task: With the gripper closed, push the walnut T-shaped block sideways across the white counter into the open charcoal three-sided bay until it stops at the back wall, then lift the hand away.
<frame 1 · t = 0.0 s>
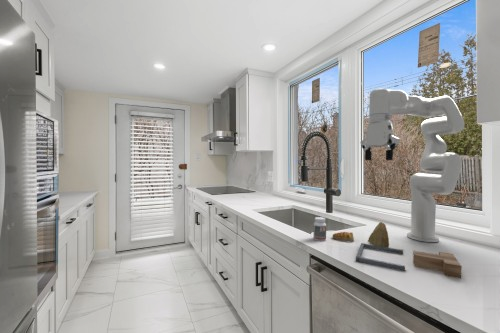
hand: (378, 160, 102), 37 cm above the counter, tool pointing down, fingers open, 9 cm apart
rock: (378, 246, 106), on the counter
pastry: (344, 240, 114), on the counter
t block: (434, 267, 84), on the counter
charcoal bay: (382, 257, 92), on the counter
pill bottle: (319, 239, 114), on the counter
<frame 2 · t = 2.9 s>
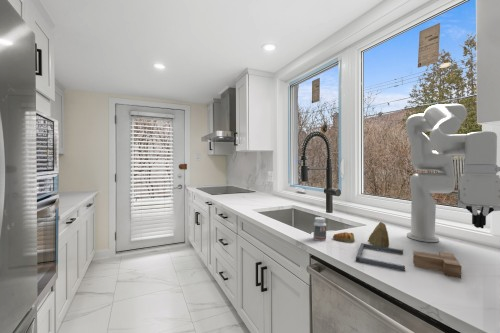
hand: (478, 227, 78), 16 cm above the counter, tool pointing down, fingers closed
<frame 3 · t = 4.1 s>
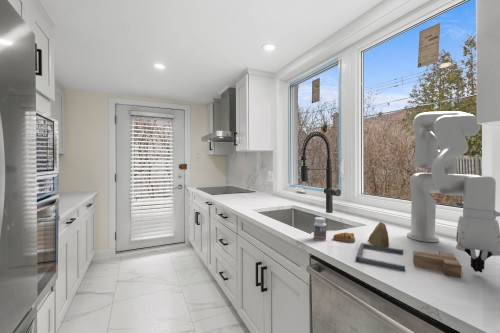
hand: (477, 270, 78), 2 cm above the counter, tool pointing down, fingers closed
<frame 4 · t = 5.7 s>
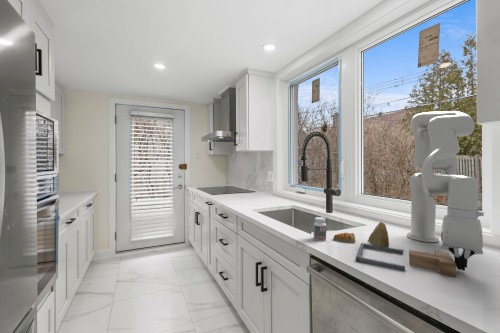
hand: (460, 268, 81), 1 cm above the counter, tool pointing down, fingers closed
t block: (430, 266, 85), on the counter, touching gripper
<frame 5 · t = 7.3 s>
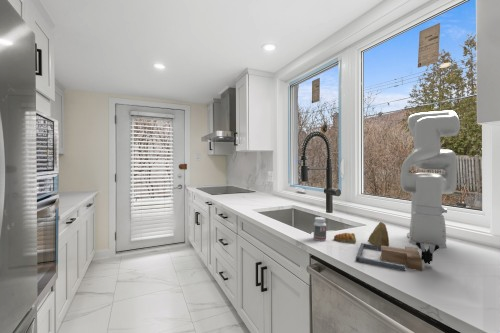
hand: (426, 262, 85), 1 cm above the counter, tool pointing down, fingers closed
t block: (399, 261, 89), on the counter, touching gripper
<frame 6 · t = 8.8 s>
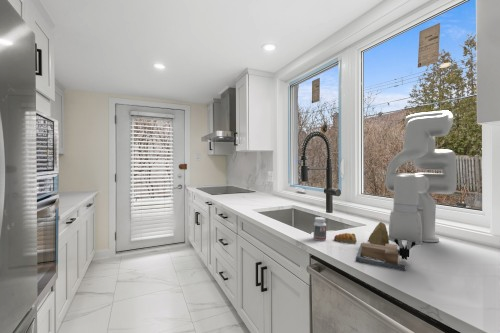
hand: (404, 258, 89), 1 cm above the counter, tool pointing down, fingers closed
t block: (379, 257, 93), on the counter, touching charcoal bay, gripper
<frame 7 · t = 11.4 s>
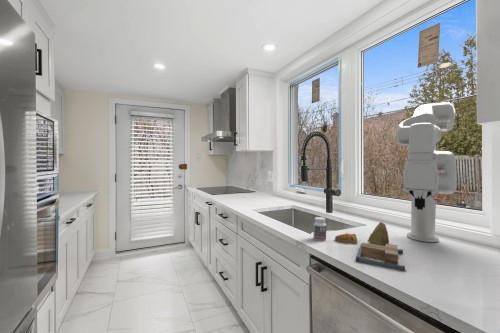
hand: (419, 209, 87), 20 cm above the counter, tool pointing down, fingers closed
t block: (379, 257, 93), on the counter
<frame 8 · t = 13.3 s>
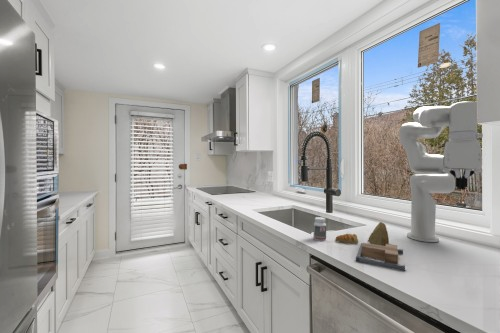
hand: (461, 189, 86), 27 cm above the counter, tool pointing down, fingers closed
at the end: t block 0.4 cm off-centre on the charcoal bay, point 0.0 cm above the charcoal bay's base; t block moved 17.0 cm from its start; t block tilted 0° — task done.
